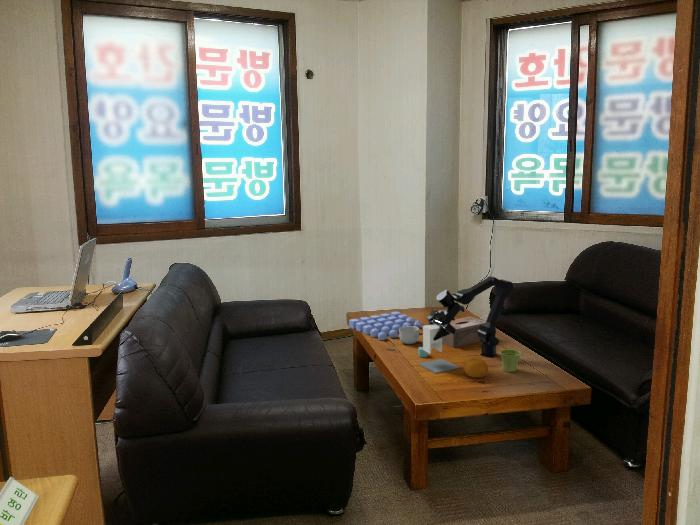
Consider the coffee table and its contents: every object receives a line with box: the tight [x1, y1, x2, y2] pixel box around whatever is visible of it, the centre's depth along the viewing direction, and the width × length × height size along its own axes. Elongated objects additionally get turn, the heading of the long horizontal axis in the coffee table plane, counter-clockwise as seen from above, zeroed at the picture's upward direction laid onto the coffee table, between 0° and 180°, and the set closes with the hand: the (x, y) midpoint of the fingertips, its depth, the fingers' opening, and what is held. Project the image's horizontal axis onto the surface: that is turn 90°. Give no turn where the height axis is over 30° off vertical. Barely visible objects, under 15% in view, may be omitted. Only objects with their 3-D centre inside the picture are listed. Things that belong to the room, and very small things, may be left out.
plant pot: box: [499, 348, 522, 373], centre depth 274 cm, size 9×9×9 cm
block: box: [418, 346, 428, 358], centre depth 296 cm, size 4×4×4 cm
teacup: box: [398, 326, 420, 345], centre depth 318 cm, size 14×11×8 cm
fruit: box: [463, 358, 489, 379], centre depth 267 cm, size 10×10×8 cm
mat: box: [418, 358, 461, 374], centre depth 280 cm, size 14×14×1 cm
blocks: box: [348, 311, 427, 341], centre depth 344 cm, size 35×34×5 cm
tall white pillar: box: [422, 324, 443, 355], centre depth 281 cm, size 7×7×12 cm
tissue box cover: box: [442, 316, 487, 348], centre depth 320 cm, size 26×14×10 cm, turn 122°
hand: (430, 338), depth 280 cm, fingers closed on tall white pillar, 7 cm apart
